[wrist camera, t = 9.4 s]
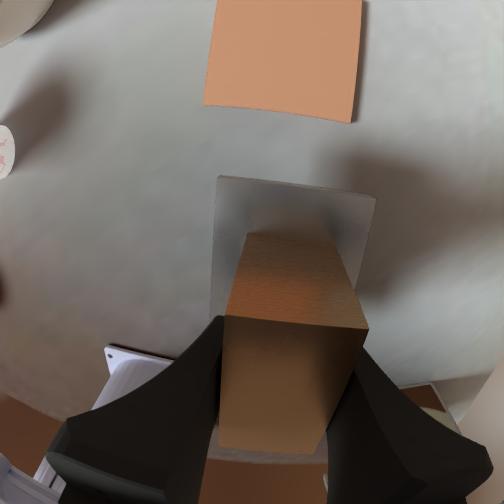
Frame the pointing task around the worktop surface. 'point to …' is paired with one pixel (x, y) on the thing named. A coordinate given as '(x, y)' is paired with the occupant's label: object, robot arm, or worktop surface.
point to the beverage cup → (6, 151)
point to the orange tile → (285, 56)
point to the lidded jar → (20, 17)
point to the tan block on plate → (286, 308)
